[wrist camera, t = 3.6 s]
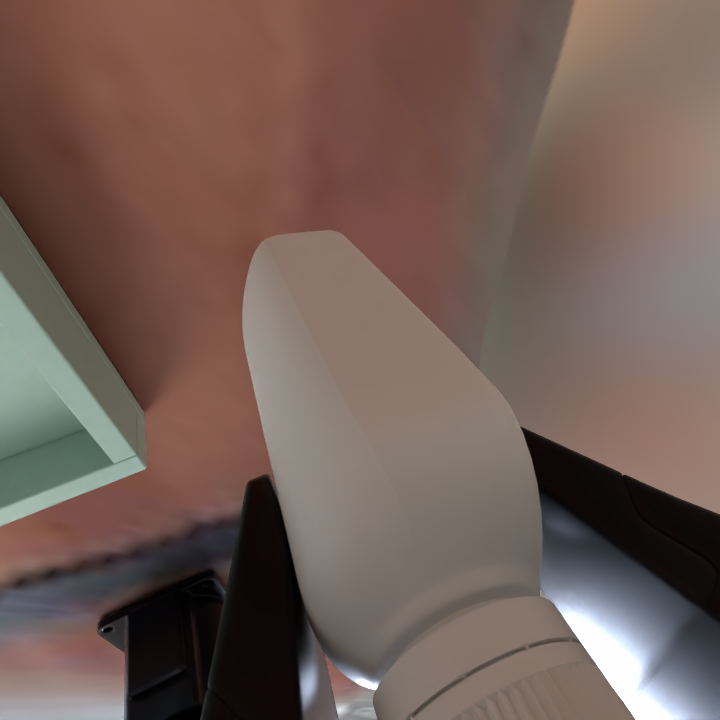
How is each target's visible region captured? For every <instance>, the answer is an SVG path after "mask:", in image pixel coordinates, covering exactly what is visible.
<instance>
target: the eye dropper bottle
mask: <svg viewBox="0 0 720 720" xmlns="http://www.w3.org/2000/svg"><path fill="white" fill-rule="evenodd" d="M242 324H243V337H244V345H245V350H246V355H247V360H248V365H249V369H250V374H251V378H252V382H253V387H254V391H255V396H256V400H257V405H258V409H259V414H260V418H261V423H262V427H263V431H264V436H265V440H266V445H267V449H268V454H269V458H270V462H271V467H272V471H273V476H274V480H275V485H276V489H277V493H278V498H279V502H280V507H281V511H282V516H283V520H284V525H285V529H286V533H287V538H288V542H289V546H290V551H291V555H292V559H293V564H294V568H295V573H296V577H297V581H298V585H299V589H300V593H301V597H302V601H303V605H304V608H305V611H306V614H307V617H308V620H309V623H310V626H311V628H312V630H313V632H314V634H315V636H316V638H317V640H318V642H319V644H320V646H321V648H322V649H323V651H324V652H325V654H326V655H327V657H328V658H329V659H330V660H331V662H332V663H333V664H334V665H335V666H336V667H337V668H338V669H339V670H340V671H341V672H342V673H343V674H344V675H345V676H346V677H348V678H349V679H351V680H352V681H354V682H356V683H358V684H360V685H361V686H364V687H367V688H370V689H375V693H374V697H373V705H374V709H375V712H376V715H377V719H378V720H636V719H635V718H634V716H633V715H632V713H631V712H630V710H629V709H628V708H627V706H626V705H625V703H624V702H623V701H622V699H621V698H620V696H619V695H618V693H617V692H616V691H615V689H614V688H613V686H612V685H611V684H610V682H609V681H608V679H607V678H606V676H605V675H604V674H603V672H602V671H601V669H600V668H599V667H598V665H597V664H596V662H595V661H594V659H593V658H592V657H591V655H590V654H589V652H588V651H587V650H586V648H585V647H584V646H583V644H582V642H581V641H580V640H579V638H578V637H577V635H576V634H575V633H574V631H573V630H572V628H571V627H570V625H569V624H568V623H567V621H566V620H565V618H564V617H563V616H562V614H561V613H560V611H559V610H558V608H557V607H556V606H555V604H554V603H553V602H552V601H550V600H548V599H546V598H542V597H539V596H540V574H541V564H542V544H543V532H542V515H541V505H540V499H539V491H538V484H537V480H536V476H535V472H534V467H533V463H532V458H531V455H530V453H529V450H528V447H527V444H526V441H525V437H524V434H523V432H522V430H521V428H520V426H519V424H518V421H517V419H516V417H515V415H514V413H513V411H512V408H511V407H510V405H509V404H508V403H507V401H506V400H505V399H504V397H503V396H502V395H501V393H500V392H499V391H498V389H497V388H496V387H495V386H494V385H493V384H492V383H491V382H490V381H489V380H488V379H487V378H486V377H485V376H484V375H483V374H482V373H481V371H480V370H479V369H478V368H477V367H476V366H475V365H474V364H473V363H472V362H471V361H470V360H469V359H468V358H467V357H466V356H465V355H464V354H463V353H462V351H461V350H460V349H459V348H458V347H457V346H456V345H455V344H454V343H453V342H452V341H451V340H450V339H449V338H448V337H447V336H446V335H445V334H444V333H443V332H442V331H441V330H440V329H439V328H438V327H437V326H436V325H435V324H434V323H433V322H432V321H431V320H430V319H429V318H428V317H427V316H426V315H425V314H424V313H423V312H422V311H421V310H420V309H418V308H417V307H416V306H415V305H414V304H413V303H412V302H411V301H410V300H409V299H408V298H407V297H406V296H405V295H404V294H403V293H402V292H401V291H400V290H399V289H398V288H397V287H396V286H395V285H394V284H393V283H392V282H391V281H390V280H389V279H388V278H387V277H386V276H385V275H384V274H383V273H382V272H381V271H380V270H379V269H378V268H377V267H376V266H375V265H374V264H373V263H372V262H371V261H370V260H369V259H368V258H367V257H366V256H365V255H364V254H363V253H362V252H361V251H359V250H358V249H357V248H356V247H355V246H354V245H353V244H352V243H351V242H350V241H349V240H348V239H347V238H346V237H345V236H344V235H343V234H342V233H340V232H335V231H331V230H325V231H311V232H300V233H290V234H282V235H275V236H272V237H270V238H267V239H265V240H263V241H262V242H261V244H260V245H259V246H258V247H257V249H256V250H255V252H254V255H253V258H252V260H251V263H250V267H249V271H248V275H247V280H246V284H245V290H244V298H243V310H242Z"/></svg>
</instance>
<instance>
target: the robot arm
mask: <svg viewBox="0 0 720 720" xmlns="http://www.w3.org/2000/svg"><path fill="white" fill-rule="evenodd" d="M520 428H521V430H522V432H523V434H524V437H525V441H526V444H527V447H528V450H529V453H530V455H531V458H532V463H533V467H534V472H535V476H536V480H537V484H538V491H539V499H540V505H541V515H542V532H543V544H542V564H541V574H540V589H541V590H542V592H543V593H544V594H545V596H546V597H547V599H548V600H550V601H552V602H553V603H554V604H555V606H556V607H557V608H558V610H559V611H560V613H561V614H562V616H563V617H564V618H565V620H566V621H567V623H568V624H569V625H570V627H571V628H572V630H573V631H574V633H575V634H576V635H577V637H578V638H579V640H580V641H581V642H582V644H583V646H584V647H585V648H586V650H587V651H588V652H589V654H590V655H591V657H592V658H593V659H594V661H595V662H596V664H597V665H598V667H599V668H600V669H601V671H602V672H603V674H604V675H605V676H606V678H607V679H608V681H609V682H610V684H611V685H612V686H613V688H614V689H615V691H616V692H617V693H618V695H619V696H620V697H621V699H622V700H625V701H624V702H625V704H626V706H627V707H628V708H629V710H630V711H631V713H632V714H633V715H634V717H635V718H636V719H637V720H720V514H717V513H715V512H712V511H710V510H707V509H705V508H702V507H699V506H697V505H694V504H692V503H689V502H687V501H684V500H681V499H679V498H677V497H674V496H672V495H670V494H667V493H665V492H663V491H661V490H658V489H656V488H654V487H651V486H649V485H647V484H645V483H642V482H640V481H638V480H636V479H634V478H632V477H629V476H627V475H623V476H622V474H621V473H620V472H618V471H616V470H614V469H612V468H610V467H607V466H605V465H603V464H601V463H599V462H597V461H594V460H592V459H590V458H588V457H586V456H583V455H581V454H579V453H577V452H575V451H572V450H570V449H568V448H566V447H564V446H562V445H559V444H557V443H555V442H553V441H551V440H549V439H546V438H544V437H542V436H540V435H538V434H536V433H533V432H531V431H529V430H527V429H525V428H522V427H520ZM97 633H98V634H99V635H100V636H102V637H103V638H104V639H106V640H107V641H109V642H110V643H112V644H113V645H114V646H116V647H117V648H119V649H120V650H121V651H123V652H124V653H125V693H124V720H339V719H338V714H337V710H336V705H335V701H334V696H333V691H332V687H331V682H330V678H329V673H328V668H327V664H326V659H325V654H324V651H323V649H322V648H321V646H320V644H319V642H318V640H317V638H316V636H315V634H314V632H313V630H312V628H311V626H310V623H309V620H308V617H307V614H306V611H305V608H304V605H303V601H302V597H301V593H300V589H299V585H298V581H297V577H296V573H295V568H294V564H293V559H292V555H291V551H290V546H289V542H288V538H287V533H286V529H285V525H284V520H283V516H282V511H281V507H280V502H279V498H278V493H277V491H276V489H275V487H274V484H273V482H272V480H271V478H270V476H269V475H268V474H264V475H262V476H259V477H257V478H255V479H252V480H250V481H249V482H248V483H247V486H246V491H245V496H244V501H243V506H242V511H241V516H240V521H239V527H238V532H237V537H236V542H235V547H234V552H233V557H232V562H231V568H230V573H229V578H228V583H227V587H226V586H225V584H224V583H223V582H222V580H221V579H220V578H219V577H218V575H217V574H216V573H215V572H212V571H210V572H205V573H203V574H201V575H198V576H196V577H194V578H192V579H190V580H188V581H185V582H183V583H181V584H179V585H177V586H175V587H172V588H170V589H168V590H166V591H164V592H161V593H159V594H157V595H155V596H153V597H151V598H148V599H146V600H144V601H142V602H140V603H137V604H135V605H133V606H131V607H129V608H127V609H124V610H122V611H120V612H118V613H116V614H114V615H111V616H109V617H107V618H105V619H103V620H101V621H100V622H99V623H98V630H97Z"/></svg>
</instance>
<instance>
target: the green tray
mask: <svg viewBox="0 0 720 720" xmlns="http://www.w3.org/2000/svg"><path fill="white" fill-rule="evenodd" d="M146 468H147V462H146V433H145V413H144V411H143V410H142V408H141V407H140V405H139V404H138V402H137V401H136V399H135V398H134V396H133V395H132V393H131V392H130V390H129V389H128V387H127V386H126V384H125V383H124V381H123V380H122V378H121V377H120V375H119V374H118V372H117V371H116V369H115V368H114V366H113V365H112V363H111V362H110V360H109V359H108V357H107V356H106V354H105V352H104V351H103V349H102V348H101V346H100V345H99V343H98V342H97V340H96V339H95V337H94V336H93V334H92V333H91V331H90V330H89V328H88V327H87V325H86V324H85V322H84V321H83V319H82V318H81V316H80V315H79V313H78V312H77V310H76V309H75V307H74V306H73V304H72V303H71V301H70V300H69V298H68V297H67V295H66V294H65V292H64V291H63V289H62V288H61V286H60V285H59V283H58V282H57V280H56V279H55V277H54V275H53V274H52V272H51V271H50V269H49V268H48V266H47V265H46V263H45V262H44V260H43V259H42V257H41V256H40V254H39V253H38V251H37V250H36V248H35V247H34V245H33V244H32V242H31V241H30V239H29V238H28V236H27V235H26V233H25V232H24V230H23V229H22V227H21V226H20V224H19V223H18V221H17V220H16V218H15V217H14V215H13V214H12V212H11V211H10V209H9V208H8V206H7V205H6V203H5V202H4V200H3V198H2V197H1V195H0V526H3V525H5V524H8V523H10V522H13V521H15V520H18V519H20V518H23V517H25V516H28V515H31V514H33V513H36V512H38V511H41V510H43V509H46V508H48V507H51V506H53V505H56V504H58V503H61V502H63V501H66V500H68V499H71V498H73V497H76V496H78V495H81V494H84V493H86V492H89V491H91V490H94V489H96V488H99V487H101V486H104V485H106V484H109V483H111V482H114V481H116V480H119V479H121V478H124V477H126V476H129V475H131V474H134V473H137V472H139V471H142V470H144V469H146Z"/></svg>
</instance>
